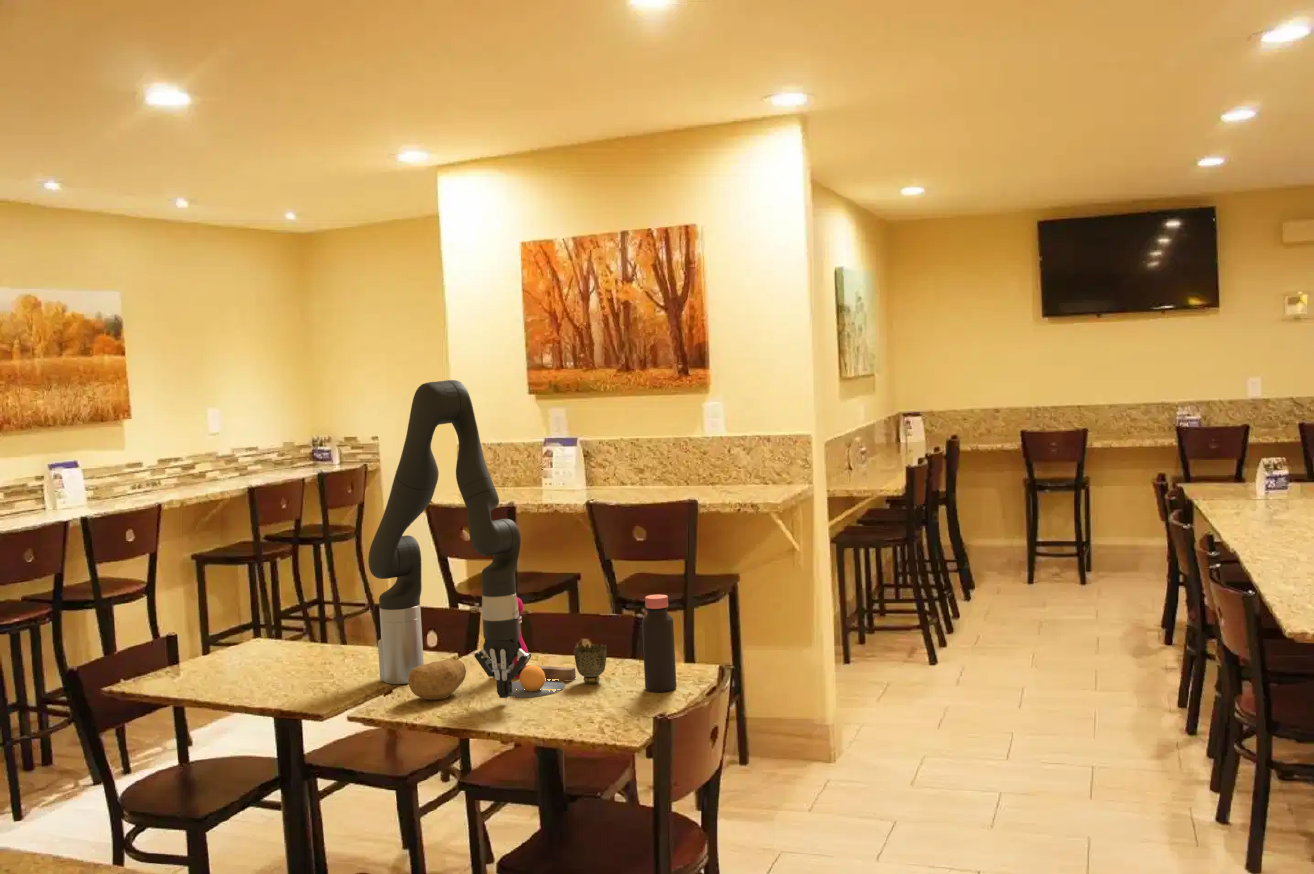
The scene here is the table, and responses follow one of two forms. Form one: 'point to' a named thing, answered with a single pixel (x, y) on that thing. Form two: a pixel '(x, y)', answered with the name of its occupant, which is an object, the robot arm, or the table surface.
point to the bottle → (658, 645)
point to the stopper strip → (558, 672)
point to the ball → (532, 678)
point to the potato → (437, 679)
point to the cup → (590, 662)
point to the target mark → (547, 685)
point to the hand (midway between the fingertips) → (505, 696)
